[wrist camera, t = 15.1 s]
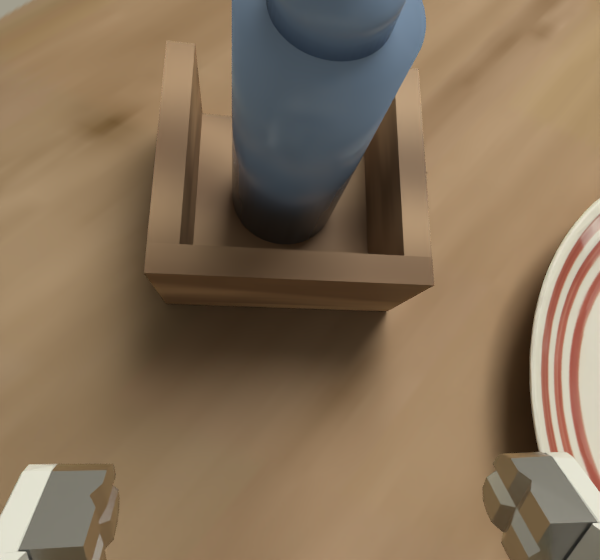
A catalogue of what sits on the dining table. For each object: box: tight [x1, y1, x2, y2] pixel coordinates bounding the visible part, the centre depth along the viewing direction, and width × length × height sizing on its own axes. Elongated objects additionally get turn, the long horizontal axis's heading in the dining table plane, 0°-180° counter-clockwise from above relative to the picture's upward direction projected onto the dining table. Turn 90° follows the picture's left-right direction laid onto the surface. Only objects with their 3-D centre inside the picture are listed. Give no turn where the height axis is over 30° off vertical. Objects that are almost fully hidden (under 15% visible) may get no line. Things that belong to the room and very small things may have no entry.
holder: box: [144, 41, 434, 311], centre depth 22 cm, size 10×11×6 cm
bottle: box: [232, 0, 426, 244], centre depth 15 cm, size 5×5×18 cm
